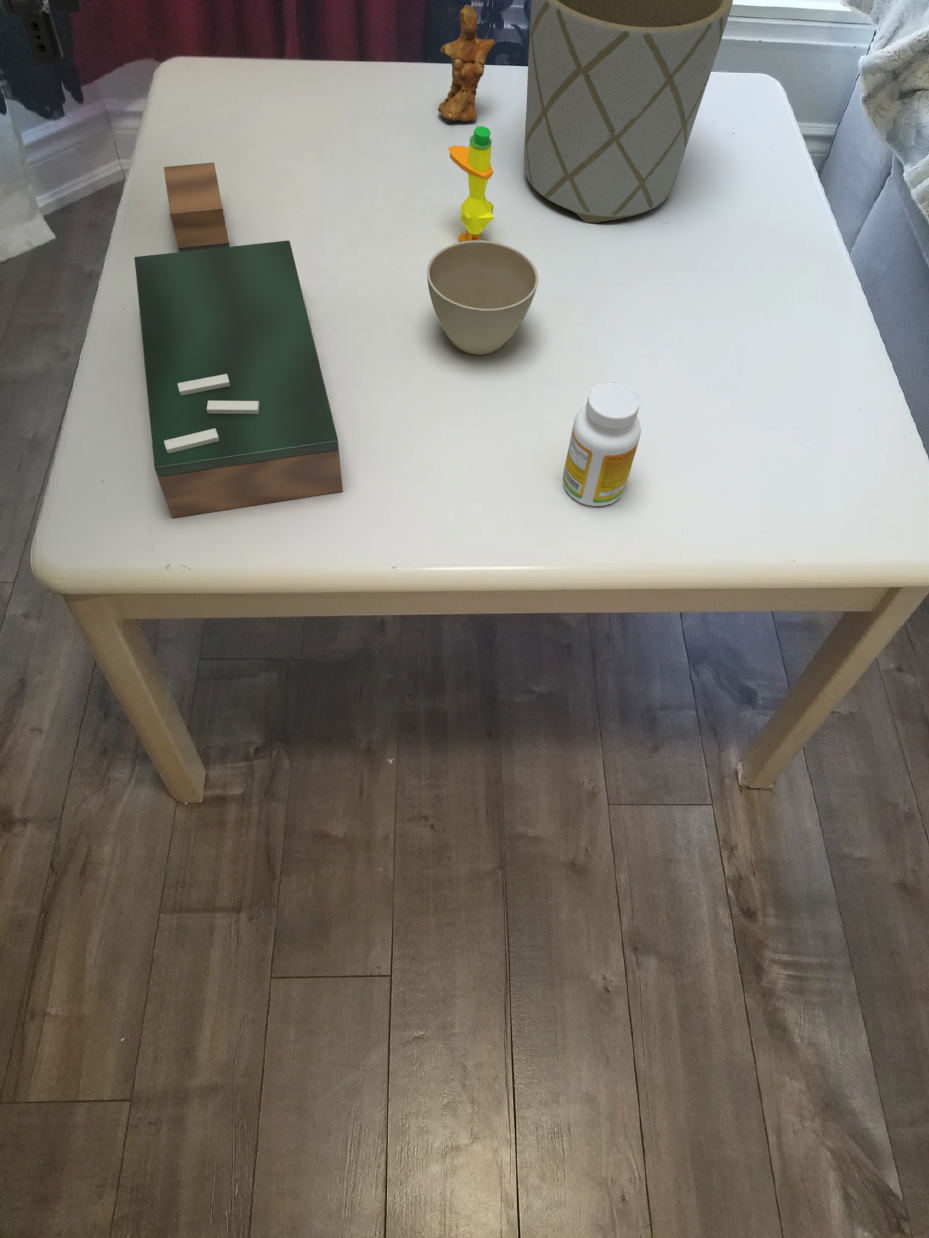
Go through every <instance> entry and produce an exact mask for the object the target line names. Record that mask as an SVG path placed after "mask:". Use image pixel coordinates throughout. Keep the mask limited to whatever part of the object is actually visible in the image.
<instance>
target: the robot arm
mask: <svg viewBox="0 0 929 1238" xmlns="http://www.w3.org/2000/svg"><path fill="white" fill-rule="evenodd" d="M1 2H2V6H3V9H4V11H5V13H6V15H9V16H10V15H12V16H14V15H15V16H16V15H19V16H20V18H21V22H22V25H23V27H24V31H25V33H26V37H27V41H28V43H29V46H30V49H31V53H32V55H33V58H34V59H35V61H36V62H38V63H44V64H45V63H46V64H48V63H50V64H59V63H61V62H62V60H63V57H64V50H63V47H62V43H61V40H60V37H59V33H58V31H57V27H56V24H55V20H54V18H53V15H52V14H53V13H52V11H51V8H50V1H49V0H1ZM51 2H52V5H53V8H54V10H56V11H58V12H59V13H60V12H61V13H78V12H79V11H80V9H81V7H82V1H81V0H51Z"/></svg>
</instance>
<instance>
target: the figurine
mask: <svg viewBox="0 0 929 1238" xmlns="http://www.w3.org/2000/svg"><path fill="white" fill-rule="evenodd" d="M459 22H460V23H459V26H460V34H459V37H458V38H457V39H455V40H452V41H450V42H448V43H445V44H443V45H442V46H441V48H440V53H442V55H443V56H448V57H449V59H450V61H451V79H452V80H451V85H450V90H449V91H448V92H447V96H446V98H445V99H444V100H443V102H440V104H439V105H438V108H437V111H438V113H440V114H441V116H442V117H443V118H445V120H448V121H453V122H456V121H461V122H471V121H476V119H477V118H478V116H477V110H476V96H477V89H478V87H479V86H478V84H479V82H480V80H481V78H482V77H483V76H484V73H485V62H486V59H487V55H488V54H489V52H490V51H491V49H492V48H493V47H494V46H495V45H496V41H495V39H492V38H488V39H481V38H478V37H477V35H478V34H477V30H478V14H477V12H476V10H475V6H473V5H470V4H464V6H463V7H462V8H461V9H460V11H459Z"/></svg>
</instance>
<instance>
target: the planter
mask: <svg viewBox="0 0 929 1238" xmlns="http://www.w3.org/2000/svg"><path fill="white" fill-rule="evenodd" d="M733 3H734V0H530V15H529V17H530V18H529V38H528V57H527V58H528V59H527V62H528V63H527V83H526V84H527V85H526V105H525V107H526V109H525V130H524V146H523V147H524V148H523V149H524V150H523V170H524V173H525V176H526V178H527V180H528V182H529V184H530V185H531V186H532V188H533V189H534V190H535V191H536V192H538V193H539V194H540V195H541V196H542V197H544V198H545V199H547V200H548V201H550V202H551V203H554V204H555V205H557V206H560V207H562V208H564V209H566V210H569V211H571V212H573V213H575V214H576V215H577V216H578V217H579V218H580V219H581V220H582V222H585V223H589V224H590V223H592V224H593V223H602V222H608V221H609V222H610V221H615V220H619V219H624V218H625V219H626V218H629V217H634V216H637V215H640V214H644V213H646V212H649V211H651V210H653V209H655V208H656V207H658V206H660V205H661V204H663V203H664V202H665V201H666V200H668V198H669V197H670V196H671V193H672V190H673V189H674V186H675V183H676V180H677V178H678V175H679V171H680V168H681V165H682V162H683V159H684V155H685V152H686V149H687V146H688V143H689V140H690V137H691V133H692V131H693V128H694V124H695V122H696V119H697V114H698V112H699V109H700V106H701V103H702V100H703V97H704V94H705V91H706V88H707V85H708V82H709V79H710V77H711V73H712V69H713V68H714V64H715V61H716V58H717V55H718V52H719V49H720V46H721V43H722V38H723V35H724V32H725V30H726V26H727V23H728V19H729V16H730V14H731V9H732V7H733Z"/></svg>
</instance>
